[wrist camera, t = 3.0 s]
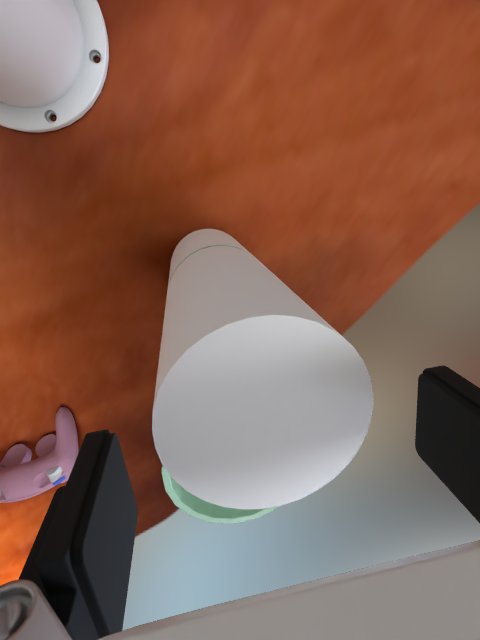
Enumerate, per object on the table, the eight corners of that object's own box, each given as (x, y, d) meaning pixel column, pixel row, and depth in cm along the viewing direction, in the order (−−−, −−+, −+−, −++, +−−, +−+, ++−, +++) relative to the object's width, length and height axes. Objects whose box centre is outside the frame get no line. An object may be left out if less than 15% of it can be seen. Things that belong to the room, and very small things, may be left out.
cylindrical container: (179, 310, 36) (180, 531, 13) (162, 236, 33) (123, 344, 10) (251, 295, 37) (377, 480, 13) (239, 222, 34) (369, 292, 11)
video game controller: (-2, 449, 40) (-16, 519, 35) (-32, 431, 36) (-52, 505, 31) (88, 421, 40) (86, 486, 35) (67, 400, 37) (62, 469, 32)
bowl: (155, 480, 42) (151, 520, 37) (176, 367, 38) (176, 394, 33) (274, 488, 45) (286, 526, 40) (306, 384, 41) (324, 412, 36)
